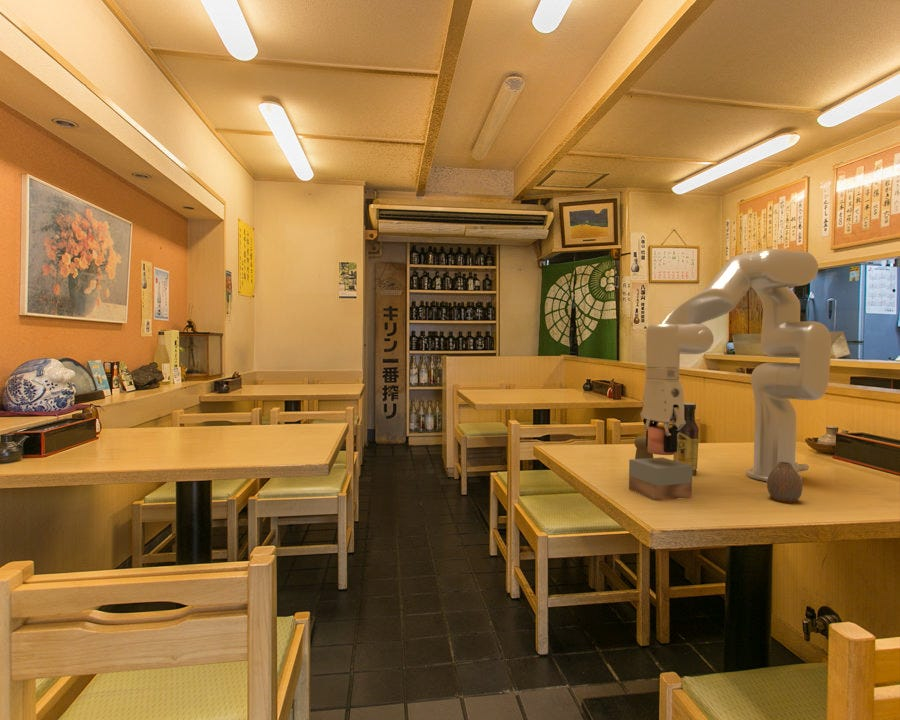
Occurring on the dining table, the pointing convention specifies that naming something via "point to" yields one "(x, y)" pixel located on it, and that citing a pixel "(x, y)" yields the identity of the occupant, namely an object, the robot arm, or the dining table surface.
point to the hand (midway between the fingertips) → (661, 448)
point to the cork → (642, 448)
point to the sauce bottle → (688, 439)
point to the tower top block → (660, 471)
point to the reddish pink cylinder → (657, 440)
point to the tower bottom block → (660, 489)
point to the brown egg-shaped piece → (784, 483)
